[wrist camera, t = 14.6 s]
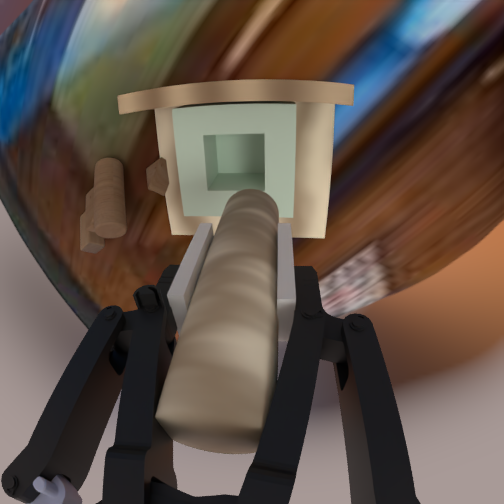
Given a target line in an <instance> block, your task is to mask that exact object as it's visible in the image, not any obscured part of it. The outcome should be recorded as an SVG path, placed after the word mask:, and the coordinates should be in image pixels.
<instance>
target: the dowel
mask: <svg viewBox="0 0 504 504" xmlns="http://www.w3.org/2000/svg"><path fill="white" fill-rule="evenodd" d="M278 223H279V210H278V207H277V204H276V202H275V201H274V199H273V198H272V197H271V196H270V195H268V194H267V193H265V192H263V191H261V190H257V189H244V190H241V191H238V192H236V193H235V194H233V195H232V196H231V197H230V198H229V200H228V201H227V203H226V205H225V208H224V211H223V213H222V216H221V219H220V221H219V224H218V227H217V229H216V232H215V235H214V237H213V240H212V243H211V245H210V248H209V251H208V254H207V256H206V259H205V262H204V265H203V268H202V270H201V273H200V276H199V279H198V282H197V285H196V288H195V290H194V293H193V296H192V299H191V302H190V305H189V308H188V311H187V314H186V317H185V320H184V323H183V326H182V329H181V332H180V335H179V338H178V341H177V344H176V347H175V350H174V354H173V357H172V360H171V363H170V366H169V369H168V373H167V376H166V379H165V382H164V386H163V389H162V392H161V396H160V399H159V403H158V406H157V410H156V414H155V418H156V419H157V421H158V422H159V423H160V425H161V426H162V427H163V429H164V430H165V431H166V432H167V434H168V435H169V436H170V437H171V439H172V440H174V441H176V442H179V443H181V444H184V445H186V446H190V447H193V448H196V449H200V450H204V451H209V452H215V453H224V454H248V453H254V452H256V451H257V448H258V445H259V441H260V438H261V435H262V432H263V429H264V425H265V422H266V419H267V416H268V412H269V409H270V405H271V402H272V399H273V395H274V392H275V388H276V385H277V374H278V330H279V321H278V315H277V278H278Z"/></svg>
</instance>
